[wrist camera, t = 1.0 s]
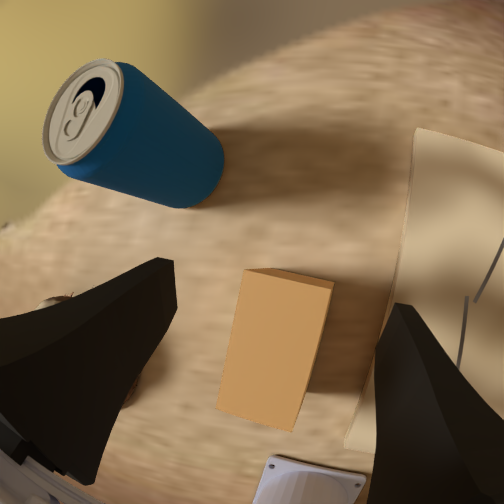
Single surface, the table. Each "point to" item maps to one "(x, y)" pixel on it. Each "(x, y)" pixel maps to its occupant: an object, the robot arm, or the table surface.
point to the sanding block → (273, 345)
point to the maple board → (450, 266)
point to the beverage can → (130, 137)
